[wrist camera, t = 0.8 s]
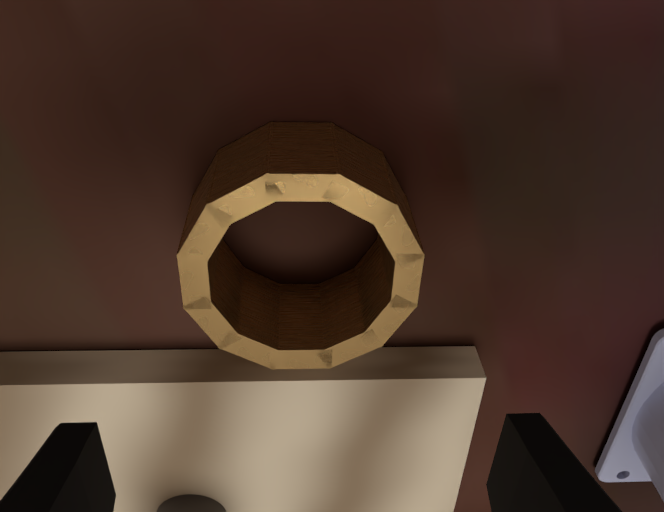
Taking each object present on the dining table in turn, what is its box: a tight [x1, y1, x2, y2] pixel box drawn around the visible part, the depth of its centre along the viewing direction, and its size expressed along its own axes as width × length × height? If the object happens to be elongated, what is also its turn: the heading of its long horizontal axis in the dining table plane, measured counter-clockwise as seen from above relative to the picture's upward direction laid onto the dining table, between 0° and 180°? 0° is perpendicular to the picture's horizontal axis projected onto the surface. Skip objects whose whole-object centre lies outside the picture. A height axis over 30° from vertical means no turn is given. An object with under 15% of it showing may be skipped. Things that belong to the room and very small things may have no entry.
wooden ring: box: [176, 121, 425, 370], centre depth 17 cm, size 6×6×3 cm
